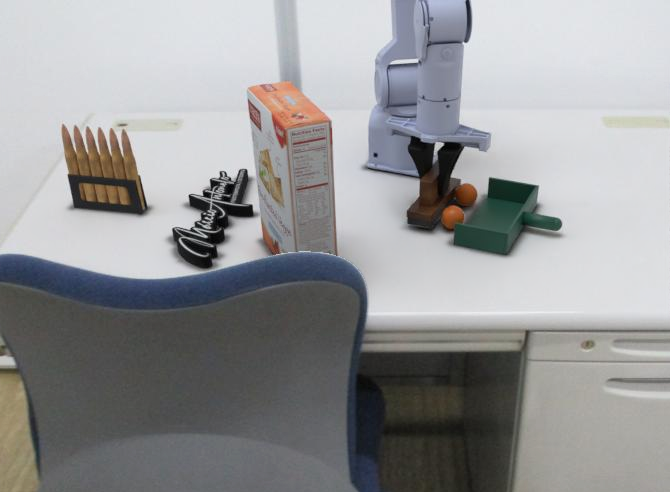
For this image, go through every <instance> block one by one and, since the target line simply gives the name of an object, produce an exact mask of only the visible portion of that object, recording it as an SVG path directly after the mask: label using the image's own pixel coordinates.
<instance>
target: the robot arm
mask: <svg viewBox="0 0 670 492" xmlns="http://www.w3.org/2000/svg"><path fill="white" fill-rule="evenodd" d="M390 14H391V15H390V17H391V33H392V35H391V37H392V39H390V41H389V42H388V43H387V44H386V45H384V46H383V47H382V48H381V49H380V50H379V51H378V53H377V54H376V56H375V59H374V78H373V79H374V81H373V83H374V84H373V85H374V86H373V87H374V95H375V96H374V97H375V101H376V103H377V104H375V105H374V106H373V108H372V109H371V112H370V114H369V118H368V119H369V120H368V125H367V127H368V129H367V130H368V131H367V132H368V133H367V134H368V135H367V137H368V138H367V139H368V141H367V142H368V143H367V144H368V147H367V148H368V163H367V164H366V168H367V169H368V168H369V169H372V170H373V169H374V170H379V171H384V172H390V173H396V174H401V175H406V176H413V177H418V178H419V181H420V180H421V178H422V177H423V176H424V175H425V174H426V173H427V172H428V171H429V170H430V168H431V167H432V166H433V165H434V164H435V163H436V162H437V161H438V162H439V182H438V195H440V196H443V195H444V194H445V193H446V192H447V190H448V185H449V181H450V178H451V177H452V176H453V175H452V174H453V172H454V169H455V167H456V165H457V163H458V160H459V159H460V156H461V154H462V153H463V151H464V149H465V148H471V149H472V148H473V149H478V152H483V153H487V151H488V150H489V149H490V148H491V143H492V142H491V141H492V132H487V131H484V130H480V129H477V128H474V127H470V126H468V125H464V124H461V123H460V118H461V117H460V116H461V115H460V114H461V101H462V85H463V68H464V54H465V53H464V52H465V45H464V44H468V43H469V42H470V40H471V37H472V31H473V19H474V18H473V6H472V1H471V0H390ZM463 43H464V44H463ZM401 60H403V61H404V60H417V62H405V63H392V62H395V61H401ZM437 143H441V144H443V145H442V146H441V147H440V148H439V149H438V150H437V152H436V154H435V148H436V144H437Z"/></svg>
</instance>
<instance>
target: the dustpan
mask: <svg viewBox="0 0 670 492" xmlns="http://www.w3.org/2000/svg"><path fill="white" fill-rule="evenodd" d="M539 190H540V185H539V184H532V183H527V182H521V181H515V180H511V179H510V180H509V179H503V178H497V177H492V176H489V177H488V185H487V195H486V198H485V200H484V201H483V202H482V204H480V206H479V208H478V209H477V210H476V211H475V213H474V214H473V216H472V217H471V219H470V220H469V221H468V223H467V224H466V223H463V224H462V223H457V222H456V223H455V228H454V229H453V245H456V246H461V247H465V248H470V249H476V250H479V251H484V252H489V253H495V254H500V255H507V253H508V252H509V251H510V249H511V247H512V245H513V244H514V242H515V241H516V239H517V237H518V236H519V234H520V232H521V231H522V229H523V228H524V226H526V227H530V228H536V229H540V230H541V229H542V230H546V231H552V232H558V231H560V230H561V229H562V228H563V221H562V219H560V218H559V217H557V216H550V215H544V214H539V213H534V212H533V211H534V209H535V208H536V207H537V205H538V197H539Z"/></svg>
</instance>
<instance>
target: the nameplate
mask: <svg viewBox="0 0 670 492" xmlns="http://www.w3.org/2000/svg"><path fill="white" fill-rule="evenodd" d="M248 182H249V171H248V169H247V168H240V169H238V172H237V175H236V178H235V181H233V180H232V177H231V176H228V172H226V171H225V170H220V171H219V177H218V178H216V177H212V178H210V179H209V185H210V189H209V188H206V189H203V190H202V195H201V194H195V193H190V194H188V203H189V206H190V207H192V208H194V209H197V210H200V211H202V212H201V213H200V220H196V221H194V226H191V227H190V229H188V228H184V227H179V226H175V227H171V233H172V237H173V241H174V242H175V244H176V247H177V252H178V254H179V256H180V257H181V258H182V259H183V260H185V261H186V262H187V263H189V264H191V265H193V266H194V267H197V268H200V269H210V268H212V267H213V264H214V263H213V259H217V258H218V257H219V255H218V247H217V245H219V244H222V242H224V241H225V239H226V237H225V228H227V227H228V226H229V224H230V223H229V216H231V217H239V218H240V217H241V218H242V217H243V218H247V217H248V218H249V217H253V216H254V207H253V206H254V205H253V204H251V203H242V202H243V199H244V196H245V193H246V189H247V186H248Z"/></svg>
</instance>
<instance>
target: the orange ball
mask: <svg viewBox="0 0 670 492" xmlns="http://www.w3.org/2000/svg"><path fill="white" fill-rule="evenodd" d="M455 197H456V198H455V201H456V202H457V203H458V204H459V205H461V206H462V207H469V206H472V205H473V204H474V203H475V202H476V201H477V199H478V190H477V188H476V186H475V185H473V184H471V183H466V182H465V183H462V184H461V185H460V186H459V187H458V188H457V190H456V193H455Z"/></svg>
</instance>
